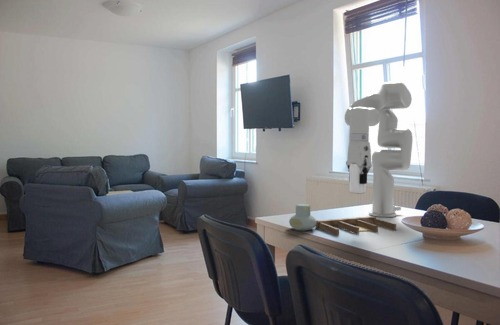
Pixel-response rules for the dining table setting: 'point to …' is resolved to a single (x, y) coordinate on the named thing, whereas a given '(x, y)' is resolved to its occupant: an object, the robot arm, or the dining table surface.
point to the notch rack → (353, 224)
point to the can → (356, 180)
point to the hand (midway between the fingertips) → (357, 182)
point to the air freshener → (302, 218)
